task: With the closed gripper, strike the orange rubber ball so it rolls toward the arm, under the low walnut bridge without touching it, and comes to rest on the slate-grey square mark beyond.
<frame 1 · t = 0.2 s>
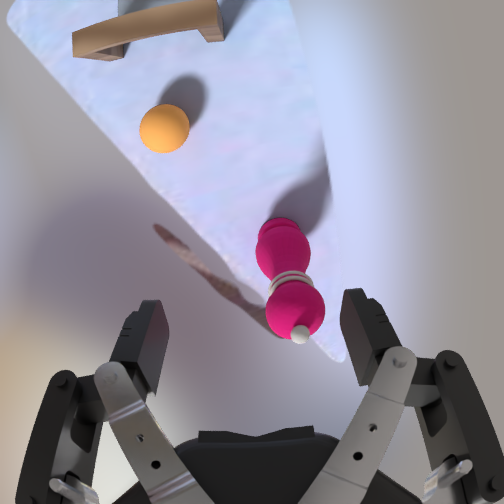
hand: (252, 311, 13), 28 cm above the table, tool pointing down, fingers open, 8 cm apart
ball: (164, 128, 32), on the table
bridge: (163, 38, 28), on the table
pepper mill: (279, 236, 43), on the table
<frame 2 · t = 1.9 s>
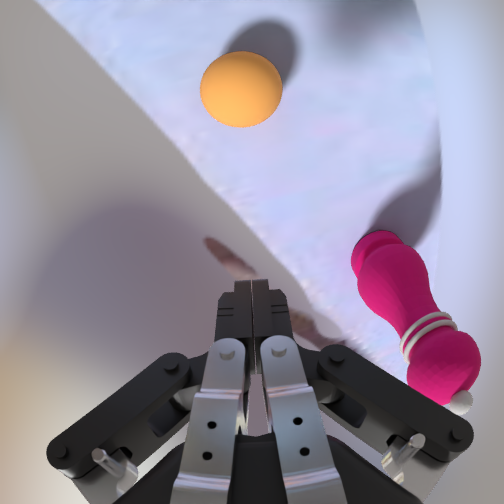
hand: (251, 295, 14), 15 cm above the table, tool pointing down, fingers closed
ball: (241, 88, 19), on the table
pepper mill: (376, 254, 31), on the table
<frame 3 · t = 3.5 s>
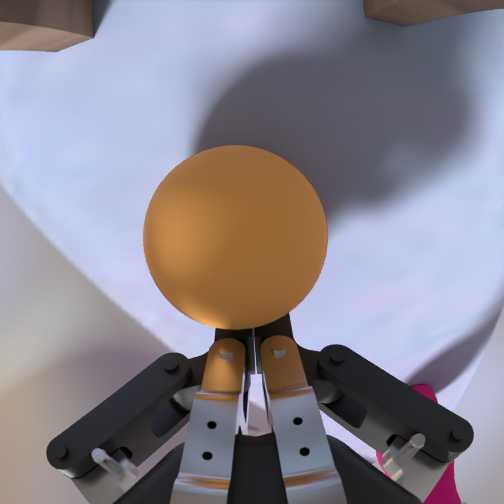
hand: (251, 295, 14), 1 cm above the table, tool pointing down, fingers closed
ball: (235, 237, 10), on the table, touching gripper
pepper mill: (401, 401, 22), on the table
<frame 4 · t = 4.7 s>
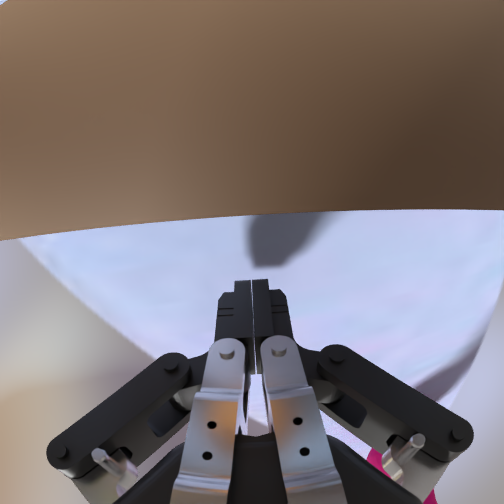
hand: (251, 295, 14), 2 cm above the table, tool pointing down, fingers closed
bridge: (238, 86, 10), on the table
pepper mill: (390, 418, 25), on the table
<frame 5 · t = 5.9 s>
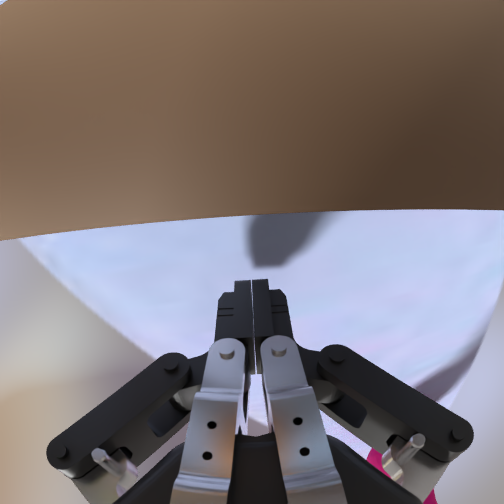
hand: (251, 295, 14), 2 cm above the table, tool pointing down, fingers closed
bridge: (238, 86, 10), on the table
pepper mill: (390, 418, 25), on the table
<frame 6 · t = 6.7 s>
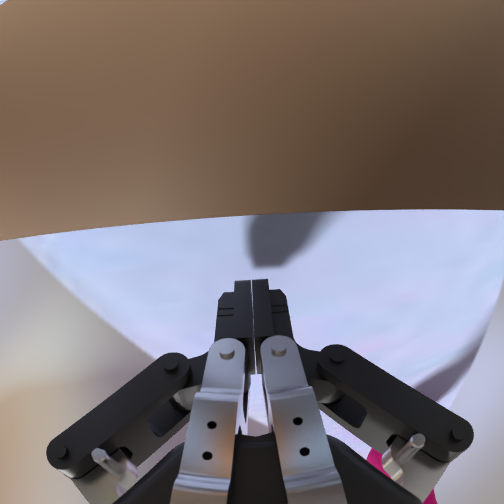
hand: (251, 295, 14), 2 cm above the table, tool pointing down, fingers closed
bridge: (238, 86, 10), on the table
pepper mill: (390, 418, 25), on the table
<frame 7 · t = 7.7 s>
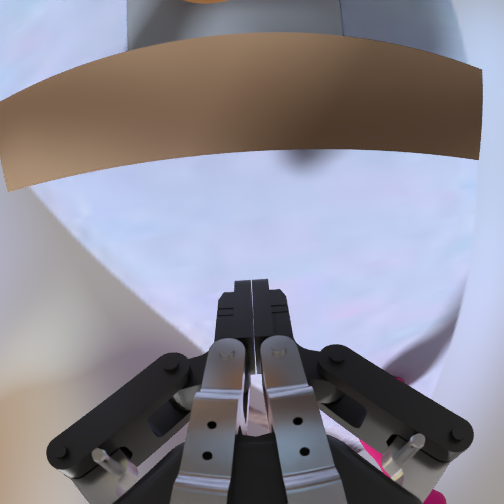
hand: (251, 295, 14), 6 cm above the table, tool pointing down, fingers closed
bridge: (238, 96, 15), on the table
pepper mill: (378, 391, 29), on the table
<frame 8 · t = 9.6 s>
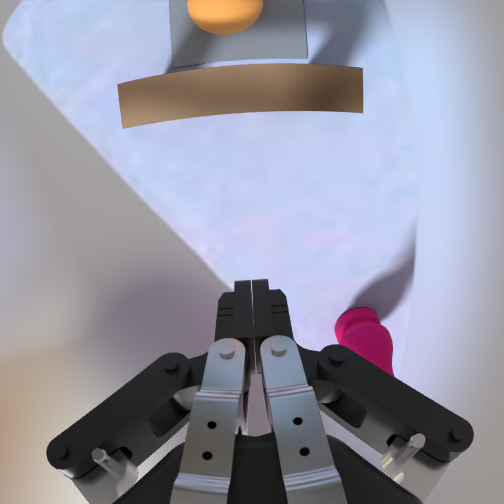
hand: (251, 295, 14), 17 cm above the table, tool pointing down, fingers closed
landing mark: (236, 2, 19), on the table
ball: (225, 2, 17), on the table
bridge: (241, 90, 24), on the table
pepper mill: (355, 322, 39), on the table
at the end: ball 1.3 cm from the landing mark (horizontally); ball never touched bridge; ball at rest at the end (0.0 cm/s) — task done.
